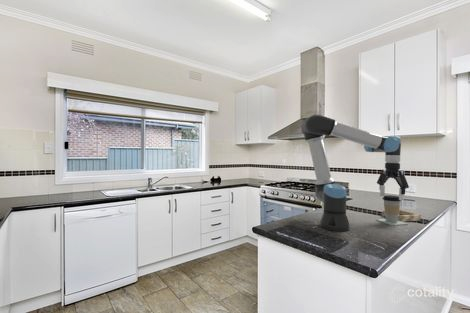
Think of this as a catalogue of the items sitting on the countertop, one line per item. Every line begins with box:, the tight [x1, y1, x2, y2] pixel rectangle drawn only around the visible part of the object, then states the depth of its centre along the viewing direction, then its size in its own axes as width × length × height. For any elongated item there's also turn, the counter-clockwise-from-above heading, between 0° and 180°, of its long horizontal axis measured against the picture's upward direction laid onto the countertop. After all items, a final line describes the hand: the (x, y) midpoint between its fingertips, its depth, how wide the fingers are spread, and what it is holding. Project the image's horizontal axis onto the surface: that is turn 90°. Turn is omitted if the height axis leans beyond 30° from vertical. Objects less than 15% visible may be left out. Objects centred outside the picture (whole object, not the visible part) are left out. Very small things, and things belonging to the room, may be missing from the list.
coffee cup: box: [382, 194, 402, 223], centre depth 142 cm, size 9×9×15 cm
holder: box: [382, 209, 422, 223], centre depth 152 cm, size 14×14×4 cm
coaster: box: [376, 218, 409, 227], centre depth 142 cm, size 11×11×1 cm
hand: (391, 197), depth 142 cm, fingers open, 13 cm apart
